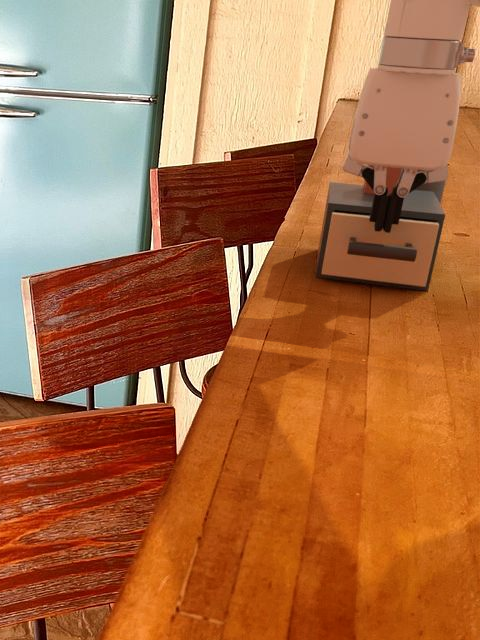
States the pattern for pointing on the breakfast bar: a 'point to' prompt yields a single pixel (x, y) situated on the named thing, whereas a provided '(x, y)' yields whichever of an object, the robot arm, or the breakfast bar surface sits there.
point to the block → (391, 179)
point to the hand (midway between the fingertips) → (382, 229)
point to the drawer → (379, 249)
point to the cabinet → (360, 202)
